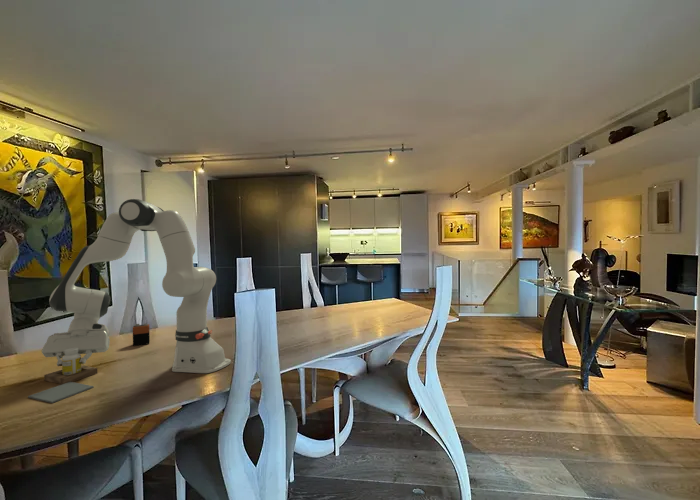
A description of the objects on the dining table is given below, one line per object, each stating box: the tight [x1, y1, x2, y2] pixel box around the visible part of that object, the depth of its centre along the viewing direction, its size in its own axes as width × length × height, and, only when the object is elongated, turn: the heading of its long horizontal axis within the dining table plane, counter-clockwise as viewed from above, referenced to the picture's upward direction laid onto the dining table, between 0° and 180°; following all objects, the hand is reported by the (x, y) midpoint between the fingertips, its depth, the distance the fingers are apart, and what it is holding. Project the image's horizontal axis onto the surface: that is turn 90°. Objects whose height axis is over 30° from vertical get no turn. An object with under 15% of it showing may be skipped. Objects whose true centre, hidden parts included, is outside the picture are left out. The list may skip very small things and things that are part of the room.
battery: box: [132, 322, 151, 347], centre depth 166 cm, size 4×7×10 cm, turn 119°
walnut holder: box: [43, 364, 99, 385], centre depth 124 cm, size 11×11×2 cm
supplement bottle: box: [61, 348, 82, 376], centre depth 124 cm, size 5×5×10 cm
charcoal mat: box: [27, 381, 94, 404], centre depth 111 cm, size 12×12×1 cm
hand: (71, 364), depth 124 cm, fingers closed on supplement bottle, 5 cm apart
